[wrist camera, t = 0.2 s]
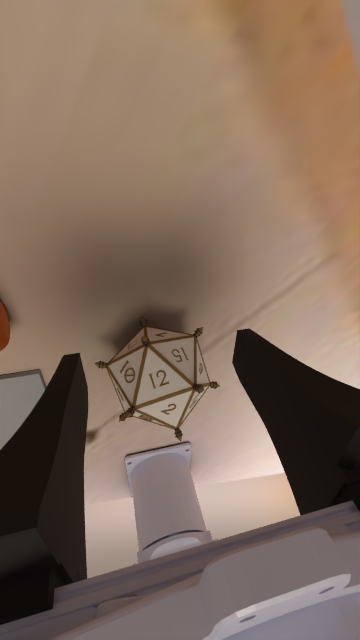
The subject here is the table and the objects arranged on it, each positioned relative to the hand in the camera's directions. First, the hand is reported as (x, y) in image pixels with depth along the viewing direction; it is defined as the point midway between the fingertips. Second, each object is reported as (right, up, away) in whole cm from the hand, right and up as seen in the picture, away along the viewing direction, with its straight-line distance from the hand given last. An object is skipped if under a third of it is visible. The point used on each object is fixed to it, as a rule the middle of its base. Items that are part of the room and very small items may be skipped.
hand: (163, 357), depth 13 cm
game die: (-2, 0, +13) cm, 13 cm away
